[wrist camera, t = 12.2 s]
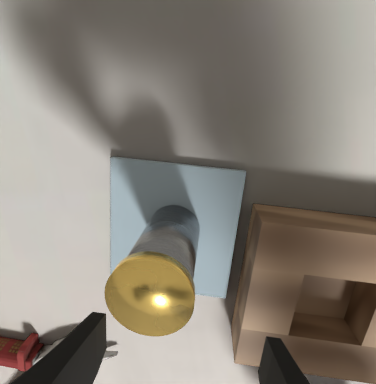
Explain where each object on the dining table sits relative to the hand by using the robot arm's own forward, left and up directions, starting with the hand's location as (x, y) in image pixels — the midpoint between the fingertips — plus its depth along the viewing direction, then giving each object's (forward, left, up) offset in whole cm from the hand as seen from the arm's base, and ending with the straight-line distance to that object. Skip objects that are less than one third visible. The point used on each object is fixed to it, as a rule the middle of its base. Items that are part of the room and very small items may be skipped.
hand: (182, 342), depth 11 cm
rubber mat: (+1, +2, -10) cm, 10 cm away
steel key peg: (+1, +2, -9) cm, 9 cm away
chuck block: (-2, -10, -10) cm, 14 cm away
